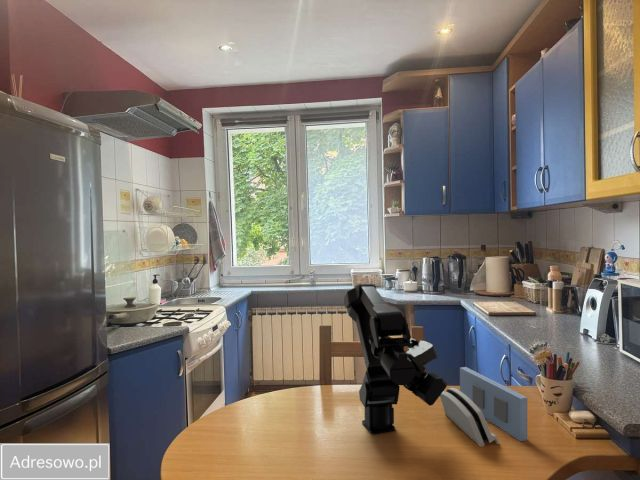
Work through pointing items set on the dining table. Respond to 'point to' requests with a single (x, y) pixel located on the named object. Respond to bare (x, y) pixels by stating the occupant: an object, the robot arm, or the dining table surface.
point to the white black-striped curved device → (467, 416)
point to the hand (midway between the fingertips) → (435, 398)
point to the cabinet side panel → (496, 402)
